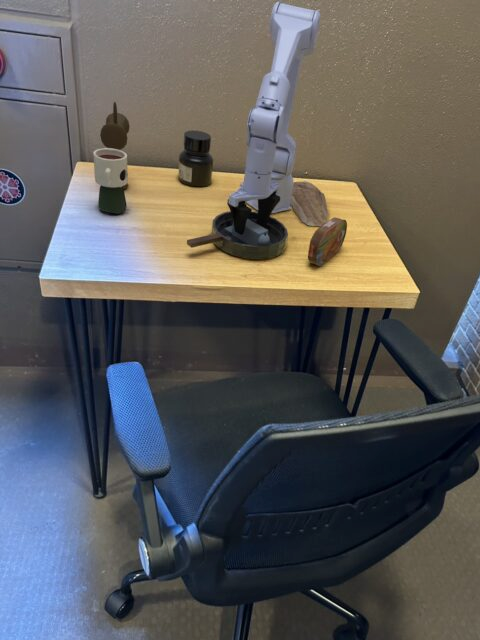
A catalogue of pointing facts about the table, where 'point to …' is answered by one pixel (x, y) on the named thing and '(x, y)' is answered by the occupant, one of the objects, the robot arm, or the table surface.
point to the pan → (244, 250)
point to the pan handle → (204, 240)
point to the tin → (327, 241)
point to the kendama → (115, 131)
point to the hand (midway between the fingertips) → (250, 228)
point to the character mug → (111, 179)
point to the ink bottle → (196, 159)
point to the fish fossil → (309, 203)
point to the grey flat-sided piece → (251, 234)
